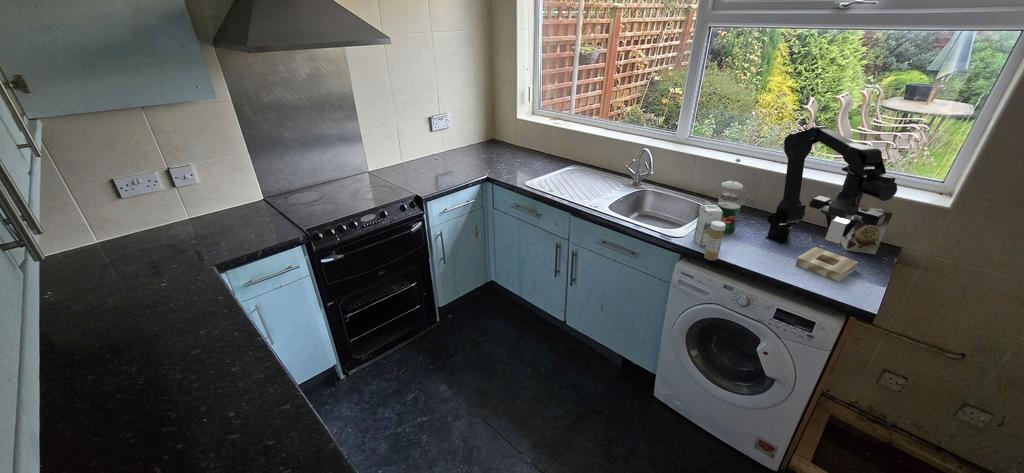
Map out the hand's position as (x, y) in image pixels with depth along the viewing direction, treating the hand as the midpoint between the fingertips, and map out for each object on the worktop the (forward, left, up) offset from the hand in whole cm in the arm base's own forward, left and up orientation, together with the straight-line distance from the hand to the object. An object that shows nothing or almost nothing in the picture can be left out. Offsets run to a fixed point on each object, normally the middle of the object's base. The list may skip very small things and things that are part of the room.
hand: (836, 234), depth 140 cm
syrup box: (-34, -17, -13) cm, 40 cm away
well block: (0, 0, -12) cm, 12 cm away
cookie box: (+1, +24, -13) cm, 27 cm away
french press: (-43, +13, -13) cm, 47 cm away
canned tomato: (-36, -1, -13) cm, 38 cm away
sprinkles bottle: (-26, -25, -13) cm, 38 cm away
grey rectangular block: (0, 0, -2) cm, 2 cm away
